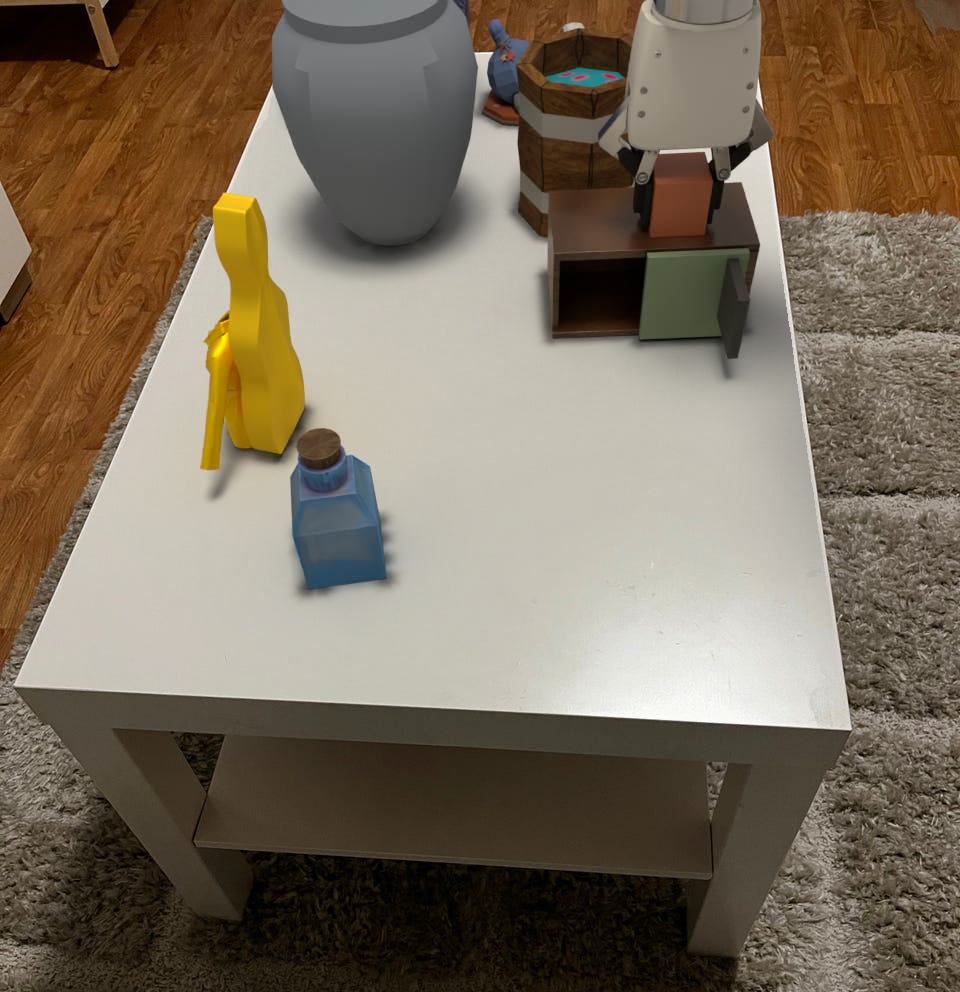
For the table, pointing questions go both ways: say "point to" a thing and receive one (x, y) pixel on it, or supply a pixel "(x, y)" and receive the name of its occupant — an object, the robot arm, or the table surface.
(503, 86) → the model
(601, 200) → the cabinet
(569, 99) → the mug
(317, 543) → the perfume bottle
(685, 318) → the door
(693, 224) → the block
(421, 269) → the table surface
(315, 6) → the vase
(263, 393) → the figure statuette
